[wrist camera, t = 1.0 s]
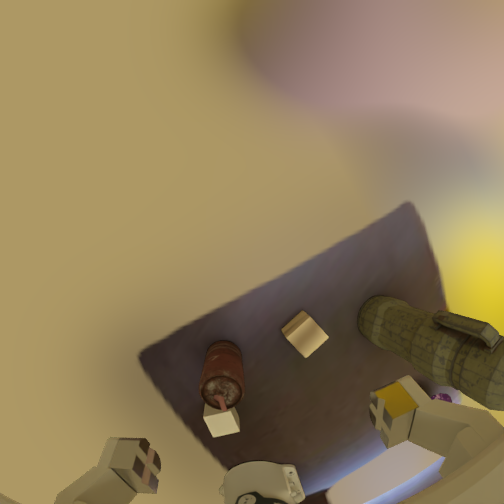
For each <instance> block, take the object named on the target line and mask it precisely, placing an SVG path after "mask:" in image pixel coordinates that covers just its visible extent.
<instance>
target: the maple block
mask: <svg viewBox="0 0 504 504" xmlns="http://www.w3.org/2000/svg"><path fill="white" fill-rule="evenodd" d="M281 330H282V332H283V334H284V335H285V337H286V338H287V339H288V340H289V341H290V342H291V343H292V345H293V346H294V347H295V348H296V349H297V350H298V351H299V352H300V353H301V354H302V355H303V356H304V357H305V358H307V357H308V356H309V355H310V354H311V353H312V352H314V351H315V350H316V349H317V348H318V347H319V346H320V345H321V344H322V343H323V342H324V341H326V340H327V339H328V338H329V337H328V336H327V335H326V334H325V332H324V331H323V330H322V329H321V328H320V327H319V326H318V325H317V324H316V323H315V321H314V320H313V319H312V318H311V317H310V316H309V315H308V314H306V313H305V312H304V311H303V310H302V311H301V312H300V313H299V314H298V315H297V316H296V317H294V318H293V319H292V320H291V321H290V322H289V323H288V324H287V325H286V326H285V327H283V328H282V329H281Z"/></svg>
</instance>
